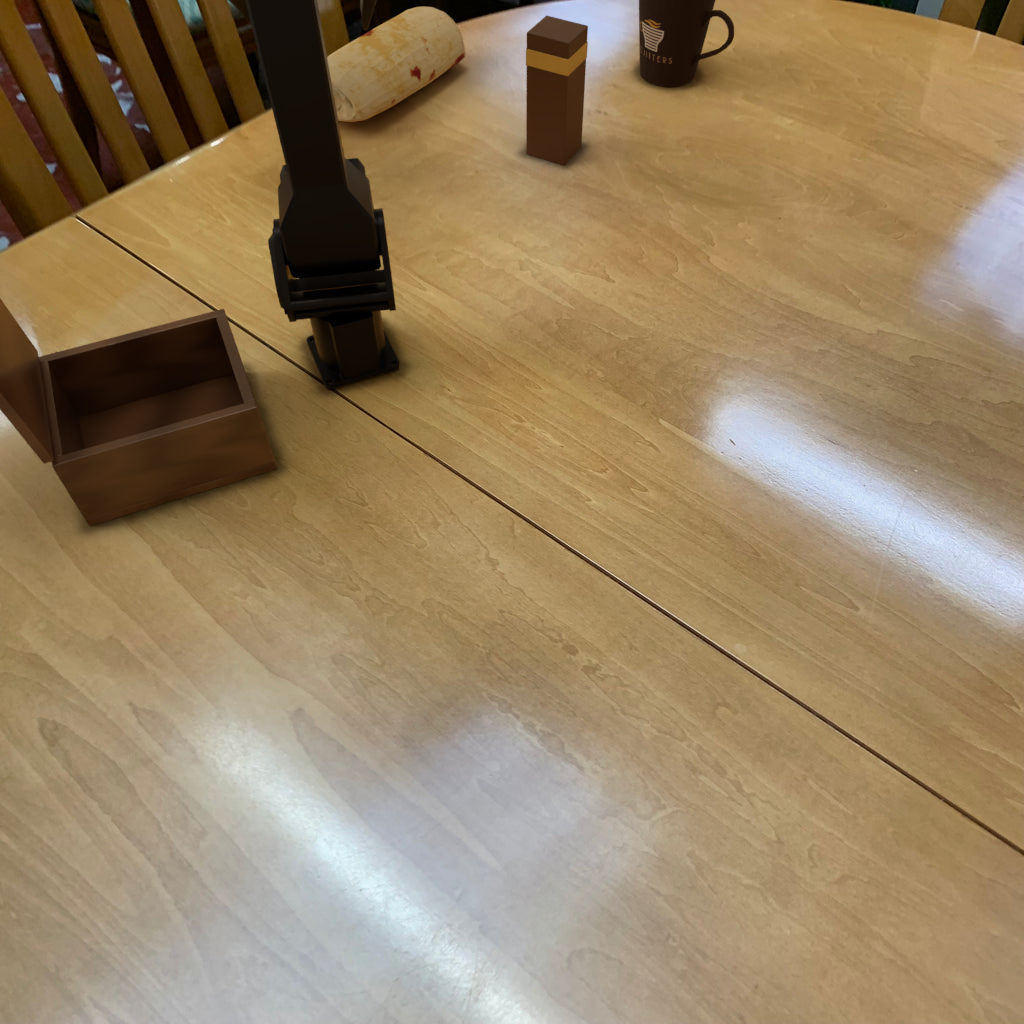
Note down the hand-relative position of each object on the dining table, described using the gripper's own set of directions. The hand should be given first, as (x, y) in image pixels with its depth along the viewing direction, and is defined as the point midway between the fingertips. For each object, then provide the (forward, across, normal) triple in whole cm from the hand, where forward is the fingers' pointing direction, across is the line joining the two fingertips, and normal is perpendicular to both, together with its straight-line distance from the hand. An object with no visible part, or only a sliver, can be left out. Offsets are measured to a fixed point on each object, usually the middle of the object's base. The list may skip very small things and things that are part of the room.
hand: (314, 31), depth 84 cm
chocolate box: (+14, -23, +3) cm, 27 cm away
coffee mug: (+16, -39, -9) cm, 43 cm away
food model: (+12, +1, -5) cm, 13 cm away
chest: (+7, +15, +38) cm, 41 cm away
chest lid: (-8, +22, +37) cm, 44 cm away
